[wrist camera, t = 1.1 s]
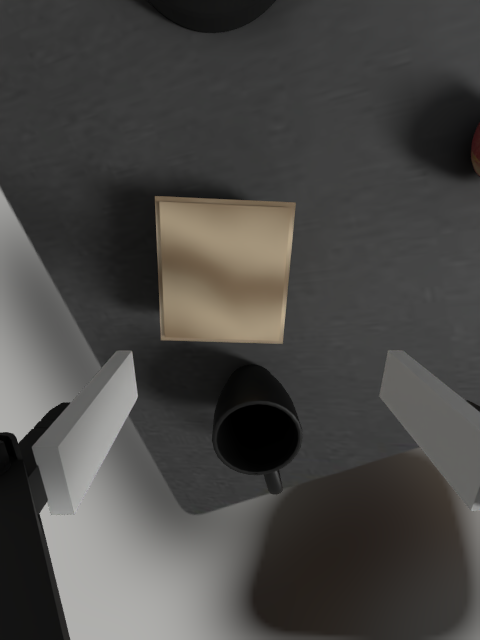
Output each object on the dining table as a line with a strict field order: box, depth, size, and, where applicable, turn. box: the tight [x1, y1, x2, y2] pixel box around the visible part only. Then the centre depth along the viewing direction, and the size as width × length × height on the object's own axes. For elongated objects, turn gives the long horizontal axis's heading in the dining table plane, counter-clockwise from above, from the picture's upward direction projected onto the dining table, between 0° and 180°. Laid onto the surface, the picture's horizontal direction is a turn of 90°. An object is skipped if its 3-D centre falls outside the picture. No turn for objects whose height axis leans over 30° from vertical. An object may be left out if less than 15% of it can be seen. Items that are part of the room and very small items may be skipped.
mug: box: [212, 365, 302, 494], centre depth 32 cm, size 8×12×10 cm
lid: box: [155, 196, 296, 344], centre depth 26 cm, size 12×11×3 cm
